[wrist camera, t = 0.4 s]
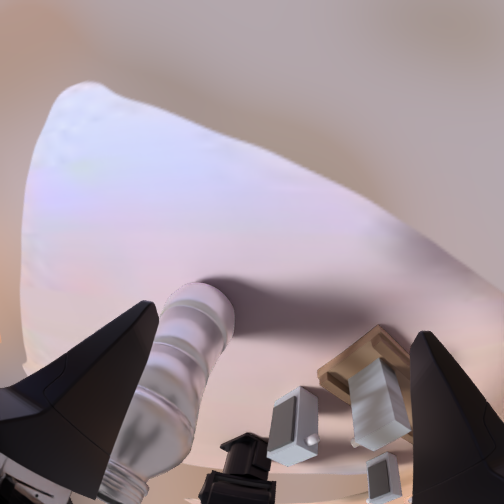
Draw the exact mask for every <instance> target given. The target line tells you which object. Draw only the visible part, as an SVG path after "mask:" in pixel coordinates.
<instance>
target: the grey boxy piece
mask: <svg viewBox="0 0 504 504" xmlns="http://www.w3.org/2000/svg"><path fill="white" fill-rule="evenodd" d="M366 464H367V476H368V490H369V498H367V499H366V502H367V503H368V504H369V503H372V504H384V503H386V502H389V501H392V500H394V499H397V498H399V497H401V496H402V490H401V483H400V476H399V469H398V463H397V457H396V456H395V455H393V454H391V453H389V452H386V453H384V454H382V455H380V456H378V457H376V458H374V459H371V460H369V461H367V462H366Z"/></svg>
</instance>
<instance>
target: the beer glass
mask: <svg viewBox="0 0 504 504" xmlns="http://www.w3.org/2000/svg"><path fill="white" fill-rule="evenodd" d="M412 495H413V494H412ZM412 495H410V496H408V497H406V498H405V499H404V503H405V504H412Z"/></svg>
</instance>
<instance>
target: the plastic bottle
mask: <svg viewBox="0 0 504 504" xmlns="http://www.w3.org/2000/svg"><path fill="white" fill-rule="evenodd" d="M234 325H235V313H234V309H233V306H232V304H231V302H230V301H229V299H228V298H227V297H226V296H225V295H224V294H223V293H222V292H221V291H220V290H218V289H217V288H215V287H213V286H211V285H208V284H205V283H189V284H186V285H184V286H182V287H181V288H179V289H178V290H176V291H175V292H174V293H173V294H171V295H170V297H169V298H168V300H167V302H166V304H165V305H164V307H163V310H162V312H161V315H160V318H159V325H158V329H157V332H156V335H155V338H154V342H153V345H152V348H151V352H150V355H149V358H148V361H147V364H146V366H145V369H144V371H143V374H142V376H141V378H140V381H139V383H138V386H137V388H136V391H135V393H134V396H133V398H132V401H131V403H130V406H129V408H128V411H127V413H126V416H125V418H124V421H123V424H122V426H121V429H120V431H119V434H118V437H117V439H116V442H115V445H114V448H113V450H112V453H111V455H110V459H109V462H108V465H107V468H106V470H105V473H104V476H103V479H102V482H101V485H100V488H99V491H98V494H97V497H96V498H98V499H99V500H101V501H103V502H105V503H107V504H141V502H142V500H143V498H144V496H146V495H147V494H148V491H149V487H148V485H147V484H146V482H147V481H148V480H149V479H151V478H154V477H156V476H159V475H161V474H164V473H166V472H168V471H169V470H171V469H173V468H175V467H176V466H178V465H179V464H180V463H182V461H183V460H184V459H185V458H186V457H187V455H188V454H189V453H190V451H191V447H192V443H193V440H194V434H195V430H196V425H197V419H198V414H199V408H200V403H201V400H202V397H203V393H204V390H205V387H206V384H207V381H208V377H209V375H210V373H211V372H212V370H213V368H214V366H215V364H216V362H217V360H218V358H219V356H220V355H221V354H222V352H223V351H224V350H225V348H226V347H227V345H228V343H229V342H230V340H231V338H232V336H233V333H234Z"/></svg>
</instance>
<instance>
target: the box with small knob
mask: <svg viewBox="0 0 504 504" xmlns="http://www.w3.org/2000/svg"><path fill="white" fill-rule="evenodd" d="M319 441H320V438H319V436H318V397H316V396H315V395H313V394H312V393H310V392H308V391H307V390H305V389H304V388H303V387H301V386H299V387H297V388H296V389H294V390H293V391H291V392H289V393H288V394H286V395H285V396H283V397H281V398H280V399H278V400H276V401H275V405H274V408H273V415H272V422H271V428H270V435H269V441H268V447H267V457H268V458H270V459H272V460H274V461H276V462H278V463H281V464H283V465H285V466H287V467H289V466H291V465H294V464H297V463H299V462H302V461H304V460H307V459H309V458H312V457H314V456H316V455H318V442H319Z"/></svg>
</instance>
